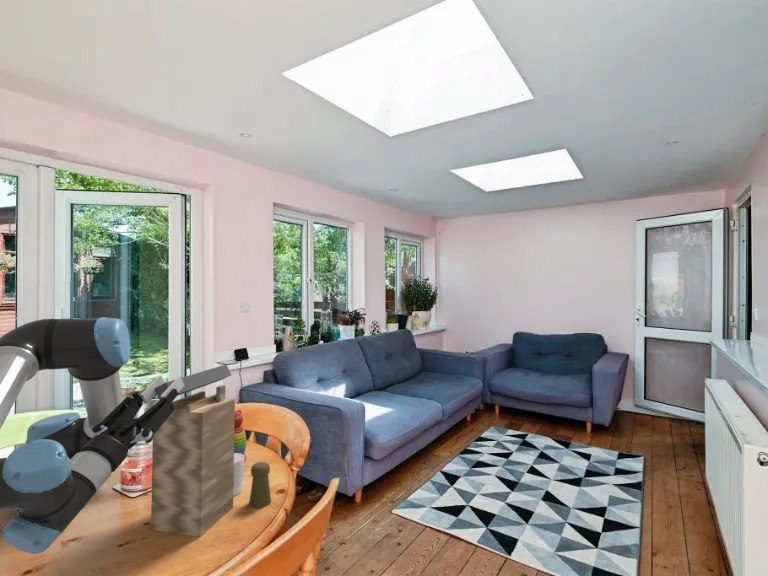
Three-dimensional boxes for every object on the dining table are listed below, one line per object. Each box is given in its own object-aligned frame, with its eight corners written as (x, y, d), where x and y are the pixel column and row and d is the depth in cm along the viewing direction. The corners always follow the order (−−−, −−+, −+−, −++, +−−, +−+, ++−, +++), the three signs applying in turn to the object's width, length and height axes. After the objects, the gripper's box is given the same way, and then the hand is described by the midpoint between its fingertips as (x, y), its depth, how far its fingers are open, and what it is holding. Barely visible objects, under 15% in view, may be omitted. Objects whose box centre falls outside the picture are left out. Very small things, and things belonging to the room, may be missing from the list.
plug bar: (160, 401, 95) (154, 388, 96) (221, 379, 119) (217, 369, 119) (171, 396, 95) (166, 382, 95) (231, 375, 118) (226, 364, 118)
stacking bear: (236, 453, 150) (237, 405, 151) (253, 459, 144) (254, 409, 145) (209, 462, 141) (210, 411, 142) (226, 470, 135) (227, 417, 136)
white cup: (234, 499, 116) (235, 464, 116) (210, 496, 118) (210, 462, 118) (249, 486, 124) (249, 454, 124) (225, 484, 126) (226, 451, 126)
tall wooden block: (151, 529, 101) (153, 393, 102) (188, 501, 115) (190, 381, 115) (200, 536, 98) (203, 396, 99) (233, 507, 112) (235, 384, 113)
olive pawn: (259, 510, 110) (259, 469, 111) (244, 504, 114) (245, 464, 114) (275, 500, 116) (276, 462, 116) (261, 495, 119) (261, 457, 119)
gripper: (67, 471, 81) (145, 390, 101) (142, 479, 78) (208, 394, 98) (49, 445, 78) (134, 366, 98) (127, 453, 74) (199, 370, 94)
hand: (171, 380), depth 98 cm, fingers closed on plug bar, 5 cm apart
